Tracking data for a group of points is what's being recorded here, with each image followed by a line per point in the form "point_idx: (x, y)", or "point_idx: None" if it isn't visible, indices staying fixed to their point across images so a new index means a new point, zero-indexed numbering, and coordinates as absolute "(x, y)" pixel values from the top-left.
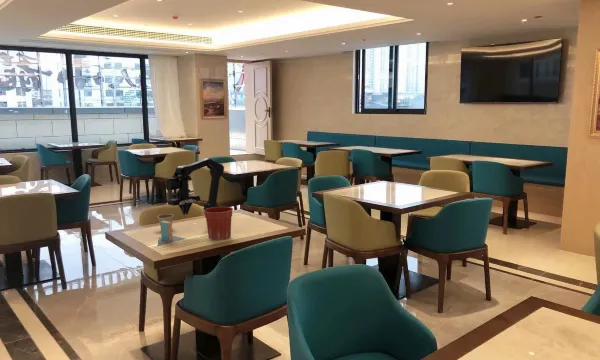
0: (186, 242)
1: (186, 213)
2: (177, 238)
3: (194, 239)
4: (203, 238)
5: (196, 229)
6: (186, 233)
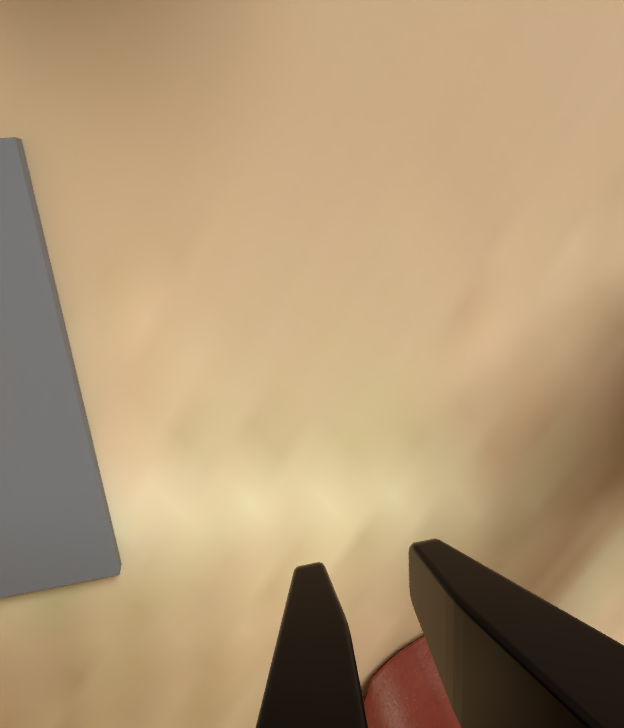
0: (61, 678)
1: (427, 617)
2: (17, 485)
3: (217, 618)
4: None
5: (579, 134)
6: (325, 239)
